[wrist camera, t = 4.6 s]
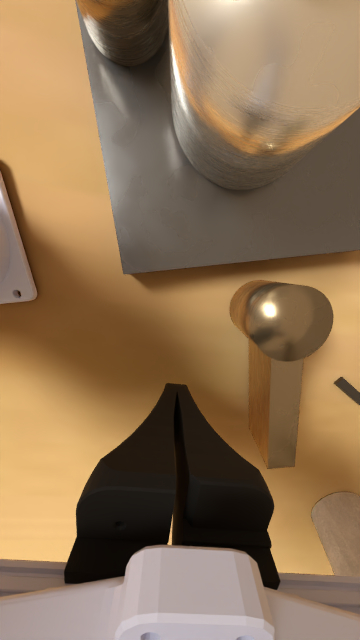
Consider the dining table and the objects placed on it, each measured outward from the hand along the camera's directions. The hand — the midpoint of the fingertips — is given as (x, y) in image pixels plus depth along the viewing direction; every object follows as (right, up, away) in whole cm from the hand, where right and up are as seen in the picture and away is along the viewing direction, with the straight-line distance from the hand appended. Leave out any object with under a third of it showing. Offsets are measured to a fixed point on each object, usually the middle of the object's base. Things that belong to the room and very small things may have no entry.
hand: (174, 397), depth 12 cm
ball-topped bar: (+6, +2, +1) cm, 6 cm away
